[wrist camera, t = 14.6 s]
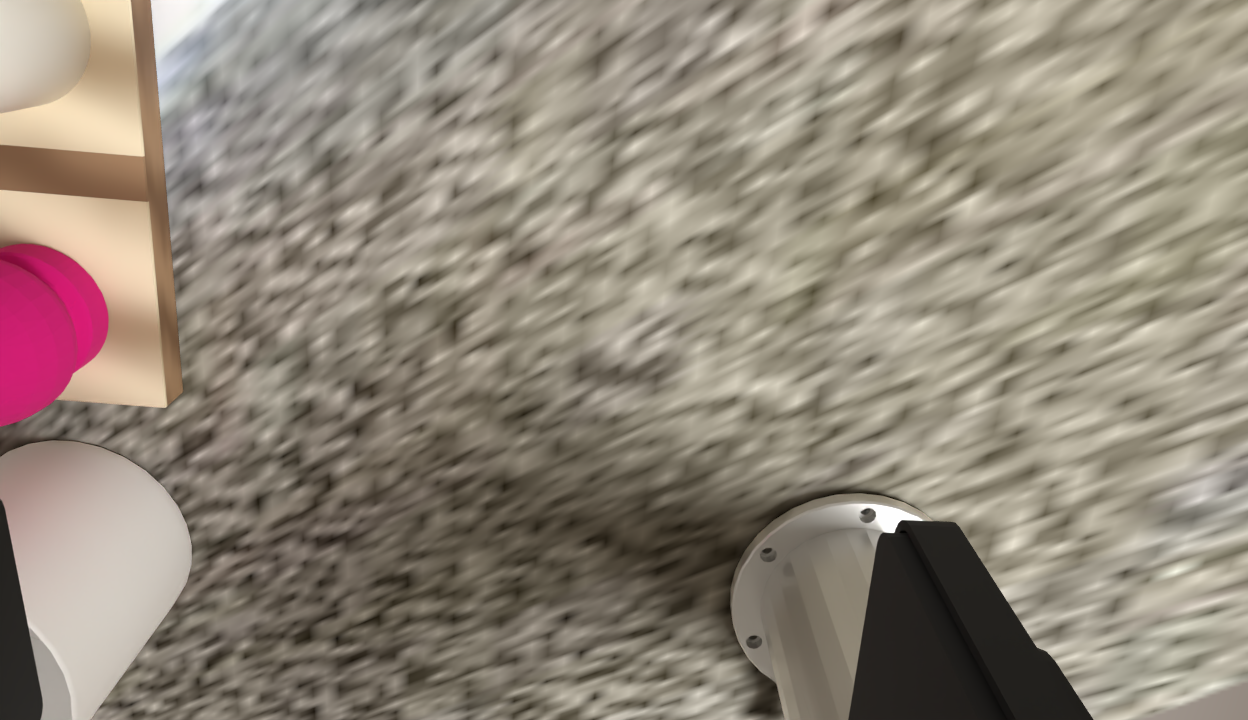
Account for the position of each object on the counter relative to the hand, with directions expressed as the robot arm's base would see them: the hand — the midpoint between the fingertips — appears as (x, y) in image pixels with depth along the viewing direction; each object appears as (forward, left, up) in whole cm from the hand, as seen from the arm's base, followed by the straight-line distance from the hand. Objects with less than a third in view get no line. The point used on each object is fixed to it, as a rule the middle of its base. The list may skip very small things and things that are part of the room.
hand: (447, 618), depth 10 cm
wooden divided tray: (-3, +24, -36) cm, 43 cm away
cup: (-23, +25, -36) cm, 49 cm away
